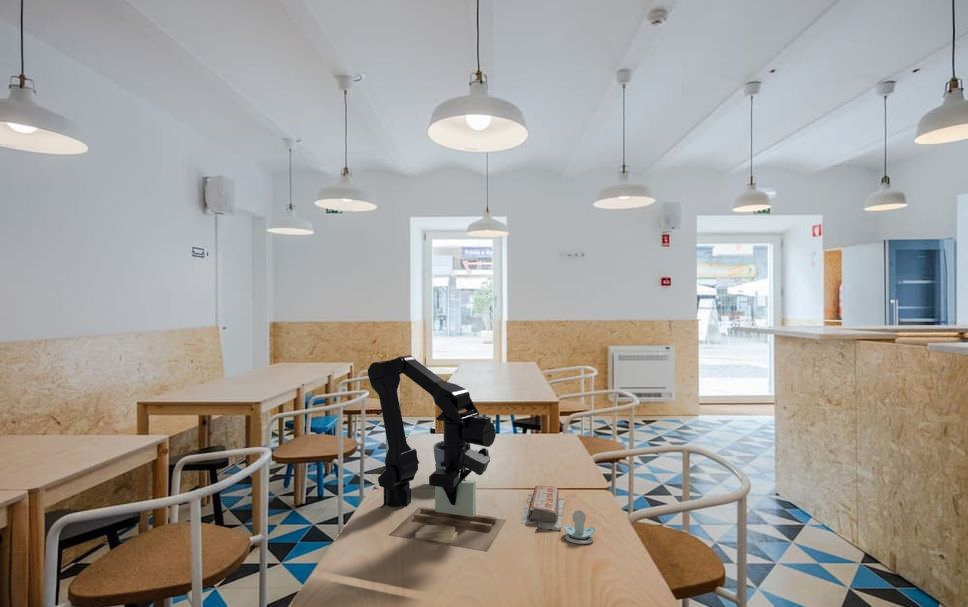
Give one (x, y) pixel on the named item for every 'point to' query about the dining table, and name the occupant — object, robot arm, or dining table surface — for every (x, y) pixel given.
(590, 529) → the pacifier
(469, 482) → the green board
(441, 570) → the dining table surface
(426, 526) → the offcut upper
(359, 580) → the dining table surface
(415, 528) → the rack
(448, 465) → the robot arm
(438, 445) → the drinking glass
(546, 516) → the packaged product
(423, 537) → the offcut lower
